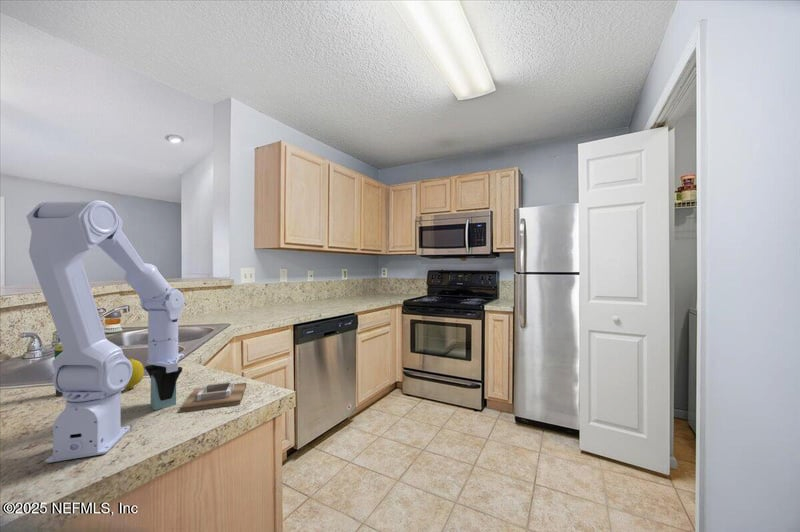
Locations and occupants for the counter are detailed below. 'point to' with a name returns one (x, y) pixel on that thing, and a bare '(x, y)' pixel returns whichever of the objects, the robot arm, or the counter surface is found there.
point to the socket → (214, 396)
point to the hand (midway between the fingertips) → (163, 396)
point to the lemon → (135, 373)
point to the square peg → (155, 399)
